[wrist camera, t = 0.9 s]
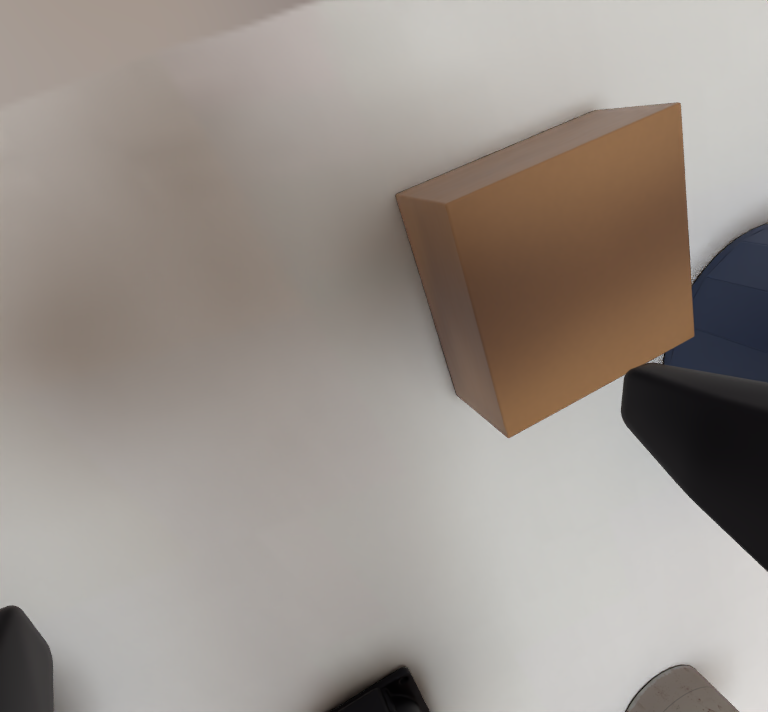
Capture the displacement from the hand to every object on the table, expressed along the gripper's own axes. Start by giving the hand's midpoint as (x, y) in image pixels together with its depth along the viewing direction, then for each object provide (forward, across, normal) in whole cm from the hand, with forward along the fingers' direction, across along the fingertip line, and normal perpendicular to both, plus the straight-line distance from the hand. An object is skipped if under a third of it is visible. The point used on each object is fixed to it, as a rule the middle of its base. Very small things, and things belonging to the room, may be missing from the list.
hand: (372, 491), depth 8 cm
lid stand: (+14, -12, +4) cm, 19 cm away
